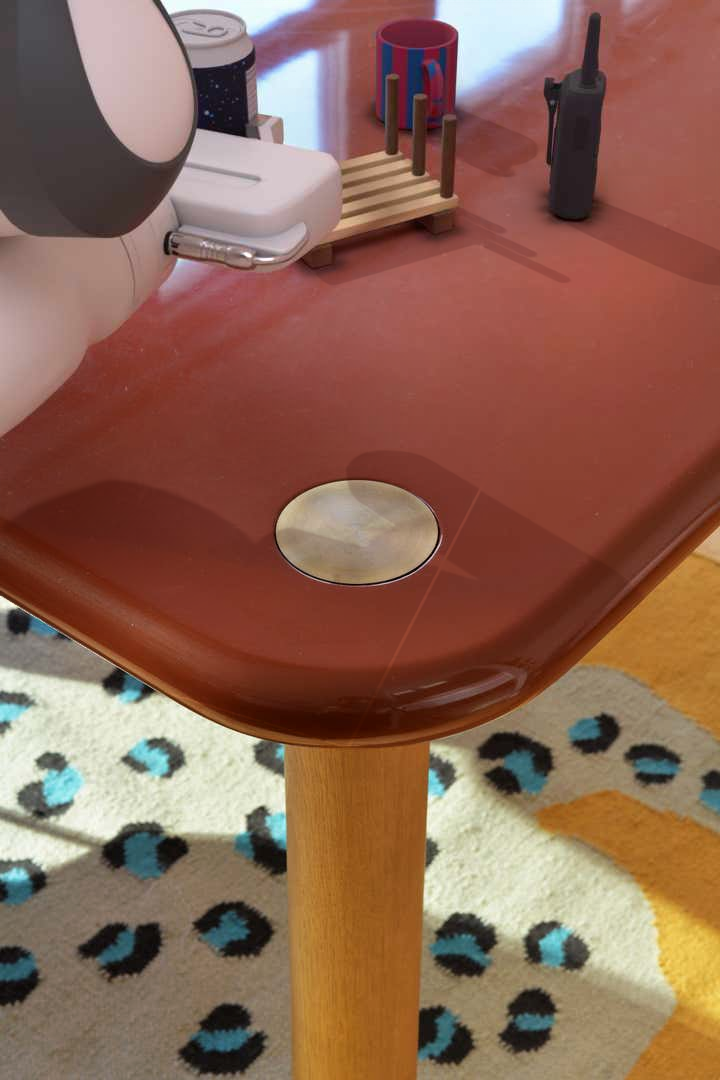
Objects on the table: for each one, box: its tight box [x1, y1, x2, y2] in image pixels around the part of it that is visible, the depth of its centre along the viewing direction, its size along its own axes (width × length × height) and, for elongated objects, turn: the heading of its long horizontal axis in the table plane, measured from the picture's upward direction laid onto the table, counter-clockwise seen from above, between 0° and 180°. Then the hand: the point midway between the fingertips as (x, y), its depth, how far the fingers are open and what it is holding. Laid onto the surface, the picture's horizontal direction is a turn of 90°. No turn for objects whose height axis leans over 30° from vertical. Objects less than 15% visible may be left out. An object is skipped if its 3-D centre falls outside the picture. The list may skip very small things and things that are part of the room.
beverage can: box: [168, 8, 259, 138], centre depth 75 cm, size 6×6×12 cm
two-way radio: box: [543, 11, 607, 220], centre depth 98 cm, size 6×4×15 cm
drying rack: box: [300, 74, 460, 270], centre depth 98 cm, size 13×10×8 cm
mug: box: [375, 17, 459, 131], centre depth 111 cm, size 7×10×7 cm
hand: (214, 117), depth 75 cm, fingers closed on beverage can, 5 cm apart
